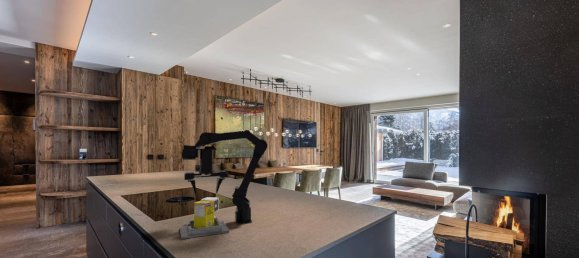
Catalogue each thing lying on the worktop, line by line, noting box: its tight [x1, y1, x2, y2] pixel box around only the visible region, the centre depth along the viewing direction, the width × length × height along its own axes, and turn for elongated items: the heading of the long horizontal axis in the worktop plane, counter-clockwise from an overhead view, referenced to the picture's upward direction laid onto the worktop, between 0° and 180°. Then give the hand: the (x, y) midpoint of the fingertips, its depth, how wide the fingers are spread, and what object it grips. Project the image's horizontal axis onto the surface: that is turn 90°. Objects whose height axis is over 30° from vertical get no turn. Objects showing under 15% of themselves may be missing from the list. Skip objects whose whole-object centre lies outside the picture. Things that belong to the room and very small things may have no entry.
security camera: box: [200, 196, 220, 218], centre depth 124 cm, size 6×7×10 cm
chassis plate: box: [179, 217, 230, 240], centre depth 109 cm, size 18×14×3 cm
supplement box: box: [193, 200, 215, 229], centre depth 110 cm, size 6×6×11 cm
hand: (206, 194), depth 120 cm, fingers open, 9 cm apart
